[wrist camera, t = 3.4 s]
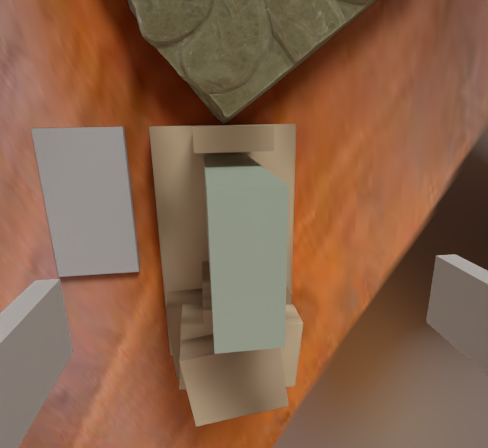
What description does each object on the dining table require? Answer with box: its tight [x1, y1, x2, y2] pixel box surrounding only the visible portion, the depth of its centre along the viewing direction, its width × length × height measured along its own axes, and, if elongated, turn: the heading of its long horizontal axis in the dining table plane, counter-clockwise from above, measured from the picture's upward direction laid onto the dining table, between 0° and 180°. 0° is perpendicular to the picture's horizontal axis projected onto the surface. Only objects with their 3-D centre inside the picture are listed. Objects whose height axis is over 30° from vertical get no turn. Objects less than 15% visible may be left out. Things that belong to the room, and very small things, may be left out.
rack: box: [149, 124, 296, 356], centre depth 23 cm, size 10×18×9 cm, turn 1°
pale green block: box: [204, 155, 289, 354], centre depth 19 cm, size 3×7×12 cm, turn 1°
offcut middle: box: [179, 304, 303, 390], centre depth 24 cm, size 8×5×2 cm, turn 86°
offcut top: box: [179, 334, 289, 427], centre depth 22 cm, size 6×5×2 cm
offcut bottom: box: [166, 284, 292, 379], centre depth 26 cm, size 9×6×2 cm, turn 94°
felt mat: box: [31, 127, 140, 277], centre depth 25 cm, size 6×11×1 cm, turn 1°
